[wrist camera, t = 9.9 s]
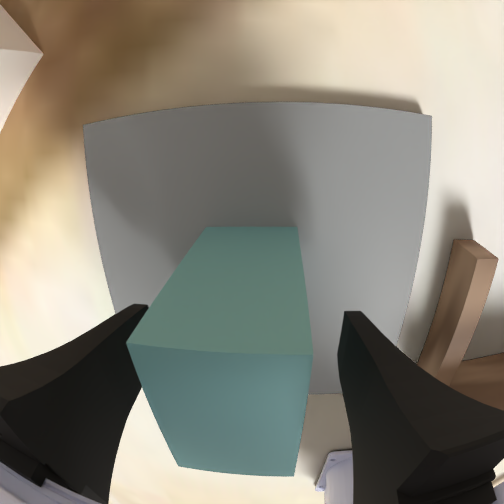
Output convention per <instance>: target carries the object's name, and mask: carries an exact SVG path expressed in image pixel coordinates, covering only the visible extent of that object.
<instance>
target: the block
mask: <svg viewBox="0 0 504 504" xmlns="http://www.w3.org/2000/svg"><path fill="white" fill-rule="evenodd" d="M126 344H127V347H128V350H129V353H130V356H131V358H132V361H133V364H134V367H135V369H136V372H137V375H138V377H139V380H140V383H141V385H142V388H143V390H144V393H145V395H146V398H147V400H148V403H149V405H150V407H151V410H152V412H153V414H154V417H155V419H156V421H157V423H158V425H159V428H160V430H161V432H162V434H163V436H164V438H165V440H166V442H167V445H168V447H169V449H170V451H171V453H172V455H173V457H174V459H175V460H176V462H177V464H178V466H180V467H186V468H192V469H198V470H205V471H213V472H221V473H230V474H242V475H257V476H294V472H295V467H296V462H297V457H298V452H299V446H300V441H301V435H302V429H303V424H304V418H305V411H306V405H307V398H308V392H309V385H310V377H311V370H312V362H313V345H312V336H311V327H310V318H309V309H308V301H307V293H306V285H305V278H304V270H303V263H302V256H301V249H300V242H299V235H298V229H297V227H206V228H205V229H204V230H203V232H202V233H201V235H200V236H199V237H198V239H197V240H196V241H195V243H194V244H193V246H192V247H191V248H190V250H189V251H188V253H187V254H186V255H185V257H184V258H183V260H182V261H181V262H180V264H179V265H178V267H177V268H176V269H175V271H174V272H173V274H172V275H171V277H170V278H169V279H168V281H167V282H166V284H165V285H164V287H163V288H162V289H161V291H160V292H159V294H158V295H157V297H156V298H155V300H154V301H153V303H152V304H151V306H150V307H149V309H148V310H147V312H146V313H145V315H144V316H143V318H142V319H141V321H140V322H139V324H138V325H137V327H136V328H135V330H134V331H133V333H132V334H131V336H130V337H129V339H128V340H127V342H126Z"/></svg>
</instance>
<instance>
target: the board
mask: <svg viewBox="0 0 504 504" xmlns="http://www.w3.org/2000/svg"><path fill="white" fill-rule="evenodd" d="M83 133H84V146H85V158H86V167H87V176H88V184H89V192H90V199H91V205H92V211H93V217H94V223H95V229H96V234H97V239H98V244H99V249H100V254H101V258H102V263H103V267H104V271H105V276H106V280H107V284H108V288H109V291H110V295H111V299H112V303H113V306H114V310H115V313H116V314H117V313H118V312H120V311H121V310H123V309H125V308H126V307H128V306H130V305H132V304H146V305H148V307H150V306H151V304H152V303H153V301H154V300H155V298H156V297H157V295H158V294H159V292H160V291H161V289H162V288H163V287H164V285H165V284H166V282H167V281H168V279H169V278H170V277H171V275H172V274H173V272H174V271H175V269H176V268H177V267H178V265H179V264H180V262H181V261H182V260H183V258H184V257H185V255H186V254H187V253H188V251H189V250H190V248H191V247H192V246H193V244H194V243H195V241H196V240H197V239H198V237H199V236H200V235H201V233H202V232H203V230H204V229H205V228H206V227H297V229H298V235H299V242H300V249H301V256H302V263H303V270H304V278H305V285H306V293H307V301H308V309H309V318H310V327H311V336H312V345H313V362H312V370H311V377H310V385H309V392H308V394H337V393H342V388H341V384H340V379H339V371H338V361H337V351H338V346H339V340H340V335H341V329H342V323H343V317H344V311H362V312H363V313H364V314H365V315H366V316H367V318H368V319H369V320H370V321H371V322H372V323H373V324H374V325H375V326H376V327H377V328H378V329H379V330H380V331H381V332H382V333H383V334H384V335H385V336H386V337H387V338H388V339H389V340H390V341H391V342H392V343H393V344H394V345H395V346H396V345H397V342H398V339H399V335H400V332H401V328H402V325H403V321H404V318H405V314H406V310H407V306H408V302H409V298H410V294H411V290H412V286H413V281H414V277H415V272H416V267H417V262H418V257H419V251H420V246H421V240H422V234H423V227H424V220H425V213H426V205H427V196H428V187H429V175H430V161H431V140H432V116H430V115H424V114H419V113H413V112H407V111H400V110H393V109H385V108H377V107H368V106H358V105H346V104H332V103H312V102H249V103H228V104H214V105H202V106H192V107H182V108H174V109H166V110H159V111H152V112H146V113H140V114H134V115H128V116H123V117H118V118H113V119H108V120H103V121H99V122H94V123H90V124H86V125H83Z"/></svg>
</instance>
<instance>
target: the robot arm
mask: <svg viewBox="0 0 504 504" xmlns="http://www.w3.org/2000/svg"><path fill="white" fill-rule="evenodd" d="M148 309H149V307H148V305H146V304H132V305H130V306H128V307H126V308H125V309H123V310H121V311H120V312H118V313H117V314H115V315H113V316H112V317H110V318H109V319H107V320H105V321H104V322H102V323H101V324H99V325H97V326H96V327H94V328H93V329H91V330H89V331H88V332H86V333H84V334H82V335H81V336H79V337H77V338H75V339H74V340H72V341H70V342H68V343H66V344H64V345H62V346H60V347H58V348H56V349H54V350H51V351H49V352H47V353H44V354H41V355H39V356H36V357H33V358H30V359H28V360H25V361H21V362H18V363H14V364H10V365H6V366H1V367H0V504H108V501H109V492H110V485H111V478H112V473H113V468H114V463H115V458H116V454H117V450H118V447H119V443H120V439H121V436H122V433H123V430H124V426H125V423H126V420H127V418H128V415H129V413H130V410H131V408H132V406H133V404H134V402H135V400H136V398H137V396H138V394H139V392H140V390H141V388H142V385H141V383H140V380H139V377H138V375H137V372H136V369H135V367H134V364H133V361H132V358H131V356H130V353H129V350H128V347H127V344H126V342H127V340H128V339H129V337H130V336H131V334H132V333H133V331H134V330H135V328H136V327H137V325H138V324H139V322H140V321H141V319H142V318H143V316H144V315H145V313H146V312H147V310H148ZM337 361H338V371H339V379H340V384H341V388H342V393H343V398H344V402H345V407H346V411H347V416H348V421H349V426H350V432H351V441H352V450H348V451H335V452H331V453H329V454H328V457H327V459H326V462H325V465H324V467H323V470H322V472H321V475H320V477H319V480H318V482H317V485H316V487H315V491H324V495H325V504H504V482H502V483H501V484H499V485H497V486H496V487H494V488H493V486H492V482H491V481H493V480H494V479H495V477H496V475H495V472H494V470H493V468H494V467H495V466H496V465H497V464H498V463H499V462H500V461H501V460H502V459H503V458H504V410H501V409H498V408H495V407H492V406H489V405H486V404H483V403H481V402H479V401H477V400H474V399H472V398H470V397H468V396H466V395H464V394H462V393H460V392H458V391H456V390H454V389H453V388H451V387H449V386H448V385H446V384H444V383H442V382H441V381H439V380H438V379H436V378H435V377H433V376H432V375H430V374H429V373H428V372H426V371H425V370H423V369H422V368H421V367H419V366H418V365H417V364H416V363H414V362H413V361H412V360H411V359H410V358H408V357H407V356H406V355H405V354H404V353H403V352H401V351H400V350H399V349H398V348H397V347H396V346H395V345H394V344H393V343H392V342H391V341H390V340H389V339H388V338H387V337H386V336H385V335H384V334H383V333H382V332H381V331H380V330H379V329H378V328H377V327H376V326H375V325H374V324H373V323H372V322H371V321H370V320H369V319H368V318H367V316H366V315H365V314H364V313H363V312H362V311H344V317H343V323H342V329H341V335H340V340H339V346H338V351H337Z"/></svg>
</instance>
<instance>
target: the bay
mask: <svg viewBox="0 0 504 504" xmlns="http://www.w3.org/2000/svg"><path fill="white" fill-rule="evenodd" d="M497 263H498V258H497V257H496V256H494V255H493V254H492V253H490V252H489V251H488V250H486V249H485V248H484V247H483V246H481V245H480V244H479V243H477V242H476V241H474V240H458V239H454V240H453V245H452V250H451V255H450V259H449V264H448V268H447V272H446V276H445V280H444V284H443V288H442V292H441V295H440V299H439V302H438V306H437V309H436V312H435V315H434V319H433V322H432V325H431V328H430V331H429V334H428V336H427V339H426V342H425V345H424V348H423V350H422V353H421V356H420V358H419V361H418V363H417V365H418V366H419V367H421V368H422V369H423V370H425V371H426V372H428V373H429V374H430V375H432V376H433V377H435V378H436V379H438V380H439V381H441V382H442V383H444V384H446V385H448V386H449V387H451V388H453V389H454V390H456V391H458V392H460V393H462V394H464V395H466V396H468V397H470V398H472V399H474V400H477V401H479V402H481V403H483V404H486V405H489V406H492V407H495V408H498V409H501V410H504V353H500V354H496V355H491V356H486V357H482V358H477V359H471V360H466V361H462V359H463V357H464V355H465V353H466V350H467V348H468V346H469V344H470V341H471V339H472V336H473V334H474V332H475V329H476V327H477V324H478V321H479V319H480V316H481V313H482V311H483V308H484V305H485V302H486V299H487V296H488V293H489V290H490V287H491V284H492V280H493V277H494V274H495V270H496V266H497Z"/></svg>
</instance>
